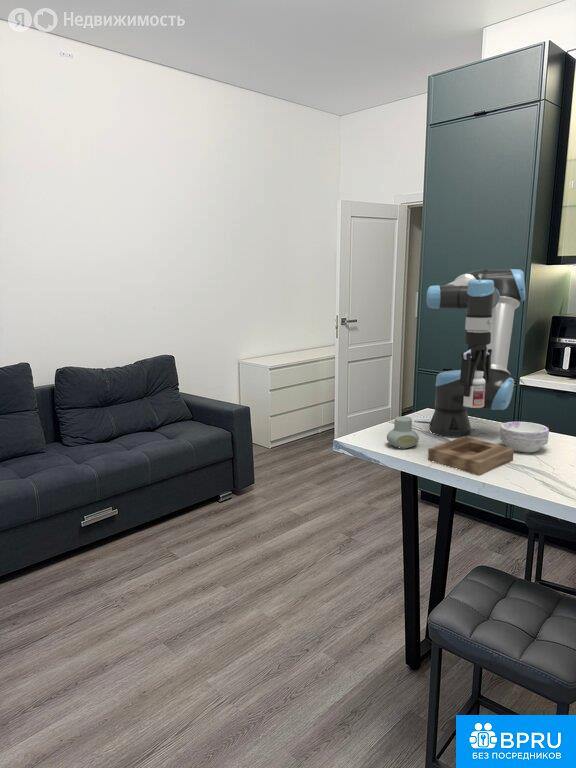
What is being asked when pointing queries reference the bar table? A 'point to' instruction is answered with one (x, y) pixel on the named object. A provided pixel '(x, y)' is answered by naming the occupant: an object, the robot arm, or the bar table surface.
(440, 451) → the walnut holder
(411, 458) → the bar table surface
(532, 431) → the paper bowls
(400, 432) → the air freshener
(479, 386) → the pill bottle
